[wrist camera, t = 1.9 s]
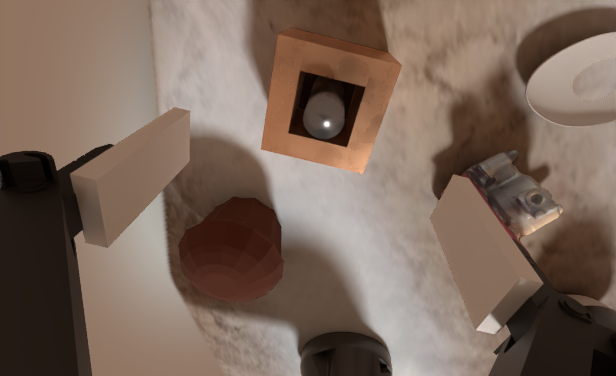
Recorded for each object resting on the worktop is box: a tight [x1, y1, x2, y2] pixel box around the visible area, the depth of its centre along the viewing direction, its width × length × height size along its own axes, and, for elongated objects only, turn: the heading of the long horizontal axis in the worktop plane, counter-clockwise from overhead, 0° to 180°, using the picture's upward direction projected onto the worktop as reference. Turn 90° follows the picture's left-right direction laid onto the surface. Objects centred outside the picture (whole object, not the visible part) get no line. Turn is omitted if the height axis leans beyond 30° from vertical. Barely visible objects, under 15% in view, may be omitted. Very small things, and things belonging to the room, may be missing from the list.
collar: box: [261, 28, 402, 174], centre depth 27 cm, size 9×9×7 cm
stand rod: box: [303, 76, 345, 139], centre depth 26 cm, size 3×3×9 cm
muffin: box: [178, 197, 283, 302], centre depth 35 cm, size 12×11×10 cm
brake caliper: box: [441, 150, 563, 259], centre depth 31 cm, size 11×11×12 cm
